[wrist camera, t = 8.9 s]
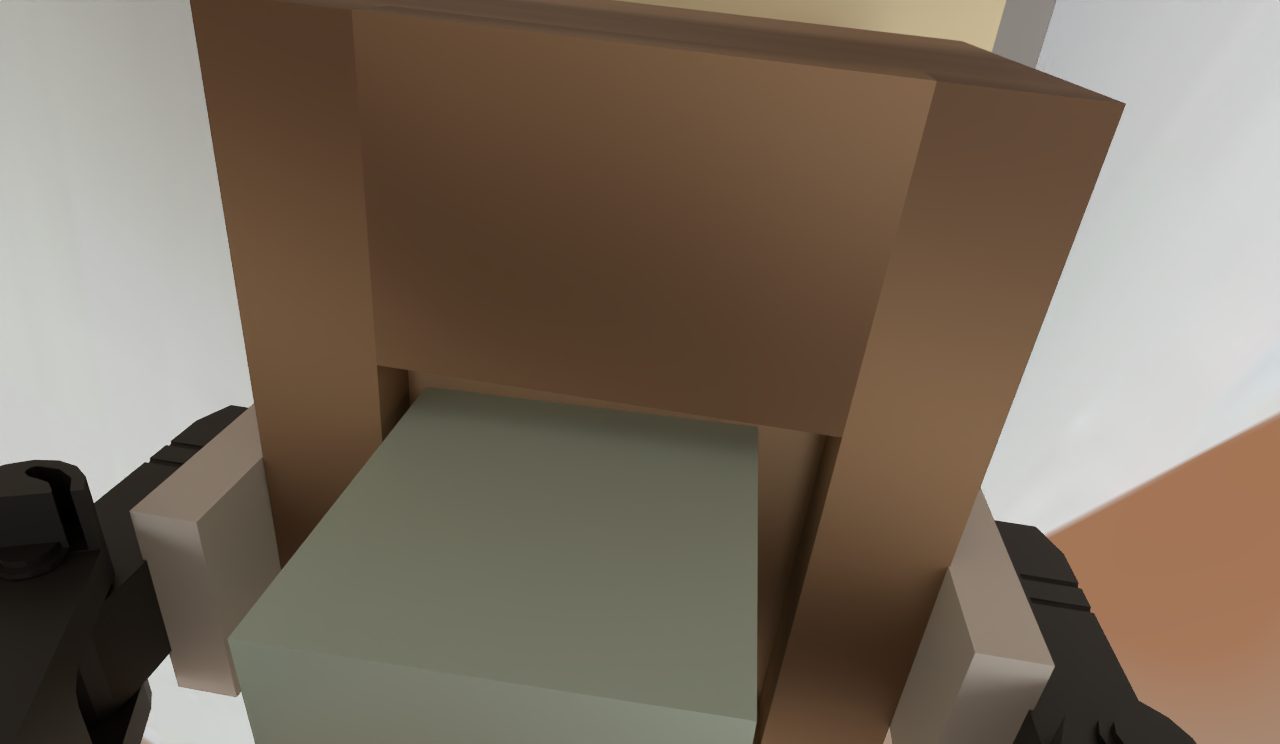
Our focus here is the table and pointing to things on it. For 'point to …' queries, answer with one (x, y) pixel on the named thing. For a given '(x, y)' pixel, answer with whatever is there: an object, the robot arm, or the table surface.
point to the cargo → (520, 586)
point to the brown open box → (660, 268)
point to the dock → (910, 19)
